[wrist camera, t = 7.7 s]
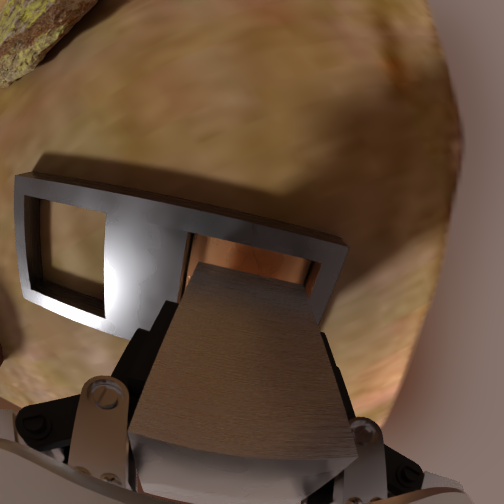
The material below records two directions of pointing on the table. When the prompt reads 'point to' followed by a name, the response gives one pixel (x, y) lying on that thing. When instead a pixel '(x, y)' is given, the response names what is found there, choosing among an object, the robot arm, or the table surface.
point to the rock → (34, 32)
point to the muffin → (0, 356)
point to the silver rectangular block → (240, 397)
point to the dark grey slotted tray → (164, 251)
